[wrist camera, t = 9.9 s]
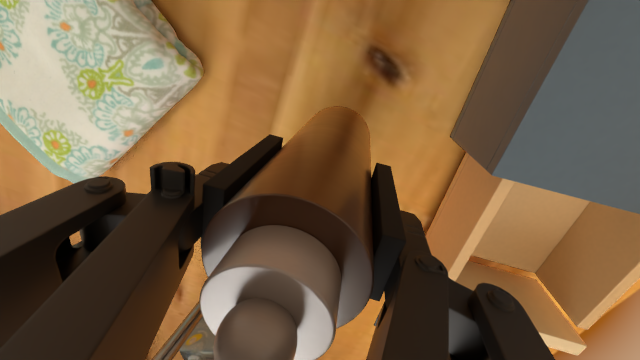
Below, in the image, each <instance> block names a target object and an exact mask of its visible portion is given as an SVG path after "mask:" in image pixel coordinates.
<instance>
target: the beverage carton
mask: <svg viewBox="0 0 640 360" xmlns="http://www.w3.org/2000/svg"><path fill="white" fill-rule="evenodd" d="M214 340H215V335H214V334H213V333H212V332H211V330H210V329H209V327H208V326H207V324H206V323H205V321H204V319H203V317H202V319H201V320H200V321H199V323H198V324H197V326H196V327H195V329H194V330H193V331H192V333H191V334H190V336H189V337H188V338H187V340H186V341H185V343H184V344H183V345H182V347H181V348H180V353H181V355H182V357H183V359H184V360H214V352H213V349H214Z"/></svg>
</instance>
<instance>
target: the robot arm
mask: <svg viewBox="0 0 640 360" xmlns="http://www.w3.org/2000/svg"><path fill="white" fill-rule="evenodd" d="M282 142H283V138H281V137H278V136H274V135H268V136H267V137H266V138H264V139H263V140H262V141H260V142H259V143H258V144H256V145H255V146H254V147H252V148H251V149H249V150H248V151H247V152H245V153H244V154H243V155H241V156H240V157H239V158H237V159H236V160H235V161H233V162H232V163H231V164H226V163H223V162H221V163H217V164H213V165H211V166H209V167H208V168H206V169H205V170H204V171H201V172H200V173H199V174H197V175H195V170H194V168H193V167H192V166H190V165H188V164H184V163H180V162H163V163H159V164H155V165H153V166H151V167H150V177H151V191H150V192H149V193H148V194H138V193H126V188H125V183H124V182H123V181H122V180H119V179H117V178H112V177H95V178H89V179H85V180H82V181H79V182H77V183H74V184H72V185H70V186H67V187H65V188H63V189H61V190H58V191H56V192H54V193H51V194H49V195H47V196H44V197H42V198H40V199H37V200H35V201H33V202H30V203H28V204H26V205H23V206H21V207H19V208H16V209H14V210H12V211H9V212H7V213H5V214H2V215H0V360H145V358H146V355H147V353H148V351H149V349H150V347H151V345H152V343H153V340H154V338H155V336H156V334H157V332H158V330H159V327H160V325H161V323H162V321H163V319H164V317H165V314H166V312H167V310H168V308H169V306H170V304H171V302H172V299H173V297H174V295H175V293H176V291H177V289H178V286H179V284H180V282H181V280H182V278H183V276H184V273H185V271H186V269H187V267H188V265H189V263H190V261H191V258H192V256H193V252H194V243H195V242H196V241H197V240H198V239H199V238H200V237H201V249H202V241H203V237H204V233H205V230H206V228H207V226H208V224H209V222H210V221H211V220H212V218H213V217H214V215H215V214H216V213H217V212H218V211H219V210H220V209H221V208H222V207H223V206H224V205H225V204H226V203H227V202H228V201H229V200H230V199H231V198H232V197H233V196H234V195H235V194H236V193H237V192H238V191H239V190H240V189H241V188H242V187H243V186H244V185H245V184H246V183H247V182H248V181H249V180H250V179H251V178H252V177H253V176H254V175H255V174H256V173H257V172H258V171H259V170H260V169H261V168H262V167H263V166H264V165H265V164H266V163H267V162H268V161H269V160H270V159H271V158H272V157H273V156H274V155H275V154H276V153H277V152H278V151H279V150H280V149H281V148H282ZM371 188H372V222H373V257H374V285H373V290H372V293H371V296H370V299H373V300H377V301H380V299H381V297H382V294H383V292H384V291H385V302H384V304H383V306H382V309H381V311H380V313H379V315H378V317H377V319H376V321H375V324H374V326H376V328H375V331H374V335H373V338H372V342H371V345H370V349H369V352H368V356H367V359H366V360H555V359H554V357H553V355H552V354H551V352H550V350H549V349H548V347H547V345H546V344H545V342H544V340H543V339H542V337H541V336H540V334H539V332H538V331H537V329H536V327H535V326H534V324H533V322H532V321H531V319H530V317H529V316H528V314H527V313H526V311H525V309H524V308H523V306H522V305H521V304H520V303H519V301H518V300H517V299H515V298H514V297H513V296H512V295H511V294H510V293H509V292H507V291H506V290H504V289H502V288H500V287H498V286H495V285H493V284H489V283H480V284H478V285H477V286H476V288H475V289H474V291H473V290H471V289H469V288H467V287H465V286H463V285H461V284H459V283H457V282H455V281H453V280H452V279H450V278H449V277H448V271H447V268H446V267H445V266H444V264H443V263H442V262H441V261H439V260H438V259H437V258H436V257H434V256H432V255H431V251H430V248H429V245H428V242H427V239H426V237H425V233H424V231H423V227H422V224H421V222H420V220H419V219H418V218H417V217H416V216H415V215H414V214H412V213H408V212H404V211H401V210H400V208H399V204H398V199H397V194H396V190H395V185H394V180H393V176H392V171H391V166H387V165H383V164H379V163H376V166H375V169H374V172H373V175H372V178H371ZM77 231H80V235H81V240H82V241H81V242H79V243H77V244H75V245H73V246H72V245H71V243H70V239H69V236H71V235H72V234H74V233H76V232H77Z"/></svg>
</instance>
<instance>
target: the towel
mask: <svg viewBox="0 0 640 360" xmlns="http://www.w3.org/2000/svg"><path fill="white" fill-rule="evenodd" d="M203 75H204V70H203V67H202V64H201V61H200V60H199V58H198V57H197V56H196V55H195V54H194V53H193V52H192V51H191V50H190V49H188V48H187V47H185V45H184V44H183V42H181V41H180V40H179V39H178V37H177V35H176V33H175V31H174V29H173V28H172V26H171V25H170V24H169V22H168V21H167V20H166V18H165V17H164V16H163V15H162V14H161V13H160V11H159V10H158V9H157V7H156V6H155V5H154V3H153V2H152V1H151V0H0V123H1V124H2V125H3V126H4V127H5V129H6V130H7V131H8V132H9V133H10V134H11V135H12V136H13V137H14V138H15V139H16V140H17V141H18V142H19V143H20V144H21V145H22V146H23V147H24V148H25V149H26V150H27V151H29V152H30V153H31V154H32V155H33V156H34V157H35V158H36V159H37V160H38V161H39V162H40V163H41V164H43V165H44V166H45V167H46V168H47V169H48V170H49V171H50V172H52V173H53V174H55V175H57V176H59V177H62V178H64V179H67V180H69V181H70V182H72V183H77V182H79V181H82V180H85V179H89V178H95V177H99V176H100V175H102V174H104V172H106V171H107V170H108V169H110V168H111V167H112V166H113V165H114V164H115V163H116V162H117V161H118V160H119V159H120V158H121V157H122V156H123V155H124V154H125V153H126V152H127V151H128V150H129V149H130V148H131V147H132V146H133V145H134V144H135V143H136V142H137V141H138V140H139V139H140V138H141V137H142V136H143V135H144V134H145V133H146V132H147V131H148V130H149V129H150V128H151V127H152V126H153V125H154V124H155V123H156V122H157V121H158V120H159V119H160V118H161V117H163V116H164V115H165V114H166V113H167V112H168V111H169V110H170V109H171V108H172V107H173V106H174V105H175V104H176V103H177V102H179V101H180V100H181V99H182V98H183V97H184V96H185V95H186V94H187V93H188V92H189V91H190V90H192V89H193V87H194V86H195V85H196V84H197V83H198V82H199V80H200V79H201V78H202V76H203Z"/></svg>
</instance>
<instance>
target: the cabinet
mask: <svg viewBox="0 0 640 360" xmlns="http://www.w3.org/2000/svg"><path fill="white" fill-rule="evenodd" d="M450 137H451V138H452V139H453V140H454V141H455V142H456V143H457V144H458V145H459V146H460V147H461V148H463V149H464V150H465V151H466V152H467V153H468V154H469V155H470V156H471V157H472V158H473V159H474V160H476V161H477V162H478V163H479V164H480V165H481V166H482V167H483V168H484V169H485V170H486V171H487V172H488V173H490V174H491V175H492V176H495V177H499V178H503V179H507V180H511V181H515V182H518V183H522V184H526V185H530V186H534V187H537V188H541V189H545V190H549V191H553V192H557V193H560V194H564V195H568V196H572V197H576V198H580V199H583V200H587V201H591V202H595V203H599V204H602V205H606V206H610V207H614V208H618V209H622V210H625V211H629V212H633V213H637V214H640V0H511V1H510V4H509V6H508V8H507V10H506V13H505V15H504V17H503V19H502V22H501V24H500V26H499V28H498V31H497V33H496V35H495V37H494V39H493V42H492V44H491V46H490V48H489V51H488V53H487V55H486V57H485V60H484V62H483V64H482V66H481V69H480V71H479V73H478V75H477V77H476V80H475V82H474V84H473V86H472V89H471V91H470V93H469V95H468V98H467V100H466V102H465V104H464V107H463V109H462V111H461V113H460V115H459V118H458V120H457V122H456V124H455V127H454V129H453V131H452V133H451V136H450Z"/></svg>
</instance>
